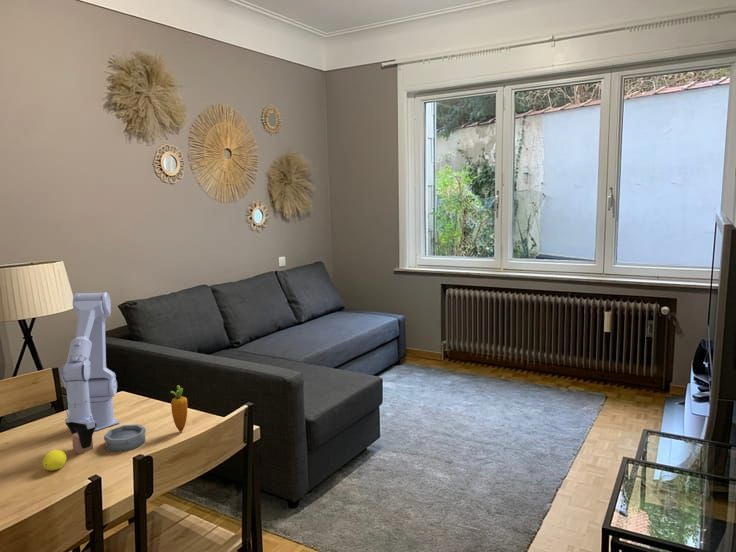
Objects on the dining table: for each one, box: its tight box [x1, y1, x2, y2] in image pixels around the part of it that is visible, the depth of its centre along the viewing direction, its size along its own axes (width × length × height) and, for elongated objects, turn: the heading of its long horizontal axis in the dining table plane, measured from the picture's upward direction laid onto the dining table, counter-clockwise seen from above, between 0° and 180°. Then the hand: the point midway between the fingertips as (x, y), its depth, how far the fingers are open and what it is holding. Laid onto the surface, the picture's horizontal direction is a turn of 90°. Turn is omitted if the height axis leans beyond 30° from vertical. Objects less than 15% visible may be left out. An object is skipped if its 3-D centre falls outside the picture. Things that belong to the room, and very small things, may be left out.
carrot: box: [169, 385, 188, 433], centre depth 172 cm, size 5×5×15 cm
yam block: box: [71, 433, 94, 455], centre depth 162 cm, size 4×4×5 cm
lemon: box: [42, 449, 67, 471], centre depth 150 cm, size 7×5×5 cm
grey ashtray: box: [103, 423, 147, 453], centre depth 166 cm, size 11×11×4 cm
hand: (82, 445), depth 162 cm, fingers closed on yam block, 4 cm apart
